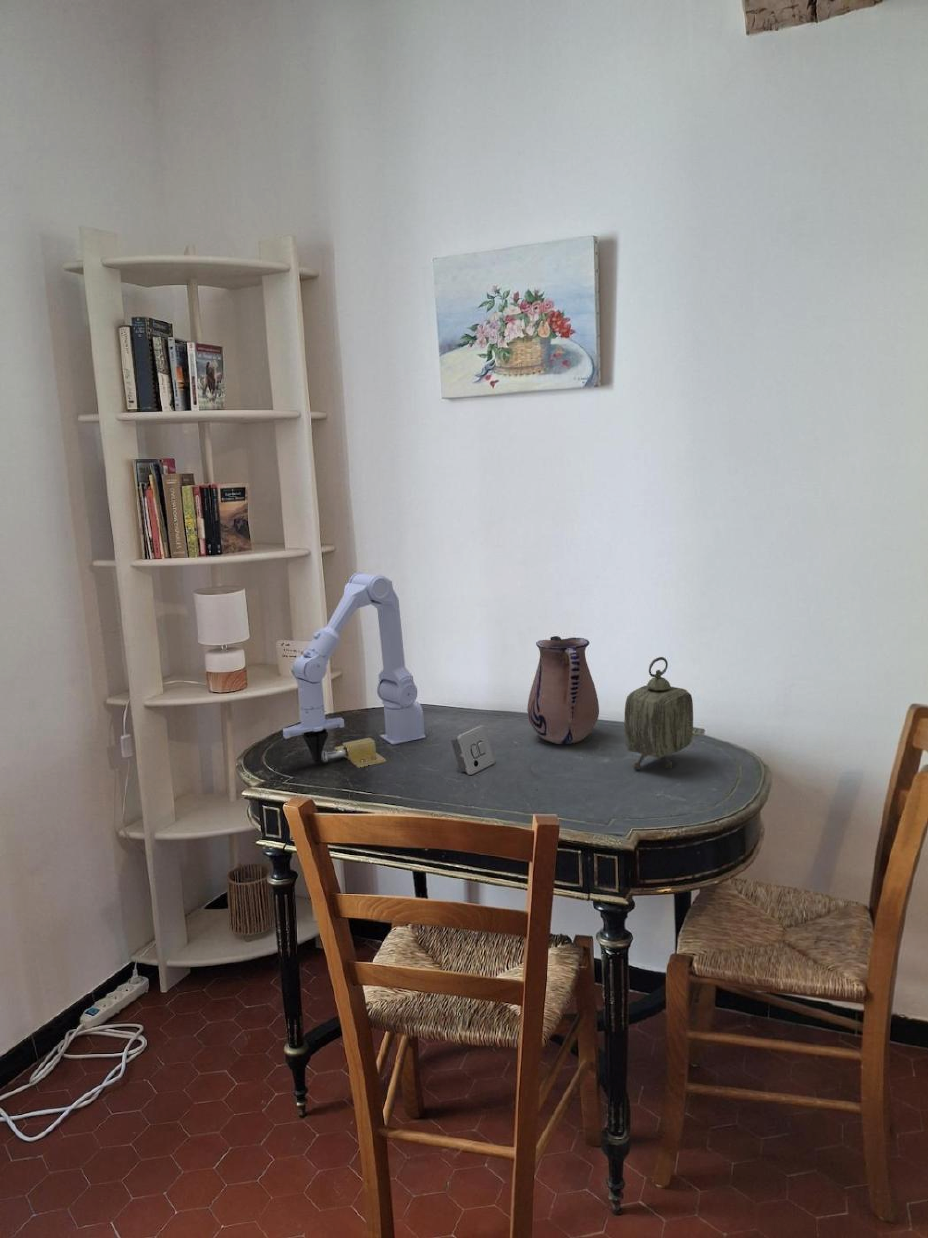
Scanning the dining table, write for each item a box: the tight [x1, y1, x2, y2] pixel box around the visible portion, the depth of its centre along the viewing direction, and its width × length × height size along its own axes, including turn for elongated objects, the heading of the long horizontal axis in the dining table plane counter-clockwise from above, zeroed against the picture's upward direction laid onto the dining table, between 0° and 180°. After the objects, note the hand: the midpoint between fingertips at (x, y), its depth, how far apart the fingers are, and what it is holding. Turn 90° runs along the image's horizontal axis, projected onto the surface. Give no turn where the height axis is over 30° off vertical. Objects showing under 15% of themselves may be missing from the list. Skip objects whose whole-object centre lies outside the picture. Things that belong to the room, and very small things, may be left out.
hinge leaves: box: [334, 737, 387, 769], centre depth 223 cm, size 7×16×3 cm, turn 28°
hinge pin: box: [321, 749, 348, 763], centre depth 221 cm, size 9×3×3 cm, turn 118°
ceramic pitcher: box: [527, 635, 600, 745], centre depth 224 cm, size 18×21×25 cm
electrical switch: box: [450, 725, 495, 776], centre depth 210 cm, size 9×5×9 cm, turn 141°
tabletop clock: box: [623, 656, 694, 771], centre depth 203 cm, size 14×9×25 cm, turn 134°
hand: (316, 761), depth 218 cm, fingers closed
